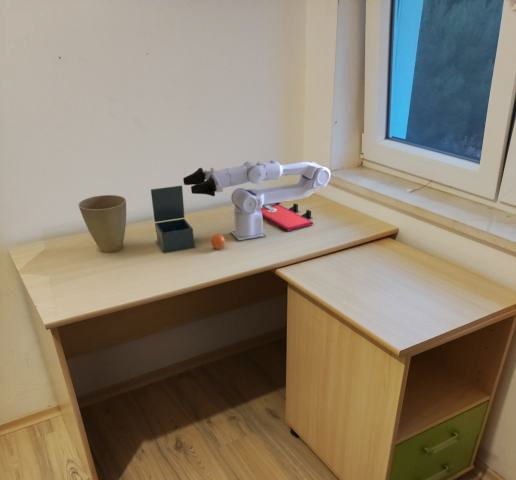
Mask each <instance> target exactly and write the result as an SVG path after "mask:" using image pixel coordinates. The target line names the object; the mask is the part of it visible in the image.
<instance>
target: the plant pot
mask: <svg viewBox="0 0 516 480" xmlns="http://www.w3.org/2000/svg"><path fill="white" fill-rule="evenodd" d="M77 205H78V209H79V212H80V214H81V217H82V219H83V221H84V224H85V225H86V228H87V230H88V233H89V234H90V236H91V238H92V239H93V241H94V242H95V243H96V244H95V245H96V246H97V247H98V249H99V250H100V251H101V252H103V253H115V252H118V251H120V250H122V248H123V245H124V240H125V234H126V225H127V199H126V198H125V197H124V196H121V195H116V194H104V195H95V196H90V197H88V198H87V197H86V198H84V199H82V200H80V201H79V203H78V204H77Z"/></svg>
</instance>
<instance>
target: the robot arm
mask: <svg viewBox="0 0 516 480" xmlns="http://www.w3.org/2000/svg"><path fill="white" fill-rule="evenodd" d="M282 176H300V177H299V179H298V180H299V181H298V183H295V184H294V183H293V184H288V185H282V186H275V187H270V188H262V189H255V188H254V189H253V188H247V189H246V188H243V187H238V188H235V189H234V190H233V192H232V193H231V196H230V197H231V198H230V200H231V202H232V204H233V205H234V209H233V211H234V230H233V231H231V234H232V235H233V236H234V237H235V238H236V239H237V240H238V241H244V240H250V239H255V238H261V237H264V236H265V235H264V219H263V218H264V217H262V213H261V211H260V209H262V205H267V204H272V203H278V202H279V203H283V202H289V201H290V202H291V201H296V200H301V199H307V198H309V197H311V195H313V194H315V193H316V192H317V191H318V190H320V189H324V188H325V187H326V186H327V185H328V183H329V181H330V180H331V171H330V169H329V168H327V167H326V166H322V165H320V164H317V162H315V161H301V162H294V163H285V164H280V162H278V161H276V160H274V159H271V160H270V161H269V162H261V161H257V162H256V163H254V162H253V161H252V162H251V161H245V162H244V163H243V164H242V165H240V166H232V167H227V168H222V169H217V170H215V168H214V167H210V170H207V169H203V168H202V167H199V168H198V169H197V170H195V171H194V172H193V173H191V174H189V175H187V176H184V177H183V178H182V179H183V180H182V181H183V185H184V186H190V191H191V194H193V195H207V196H211V197H215V196H216V193H221V192H223V191H224V190H223V189H225V188H229V187H235V186H239V185H243V184H247V183H252V184H256V185H259V184H261V182H263V181H275V180H279V179H280V178H281V177H282Z"/></svg>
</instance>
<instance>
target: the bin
mask: <svg viewBox="0 0 516 480" xmlns="http://www.w3.org/2000/svg"><path fill="white" fill-rule="evenodd" d="M154 226H155V227H154V228H155V234H156V242H157V244H158V245H159V246H160V248H161V250H162V251H163V253H164V254H165V253H170V252H176V251H181V250H187V249H193V248H195V239H194V229H193V227H192V225H190V224H189V223H188V221H187V220H186V218H179V219H172V220H166V221H159V222H154Z"/></svg>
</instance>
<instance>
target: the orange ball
mask: <svg viewBox="0 0 516 480" xmlns="http://www.w3.org/2000/svg"><path fill="white" fill-rule="evenodd" d="M210 244H211V246H212V247H213V248H214V249H217V250H220V249H223V247H225V245H226V239H225V237H224V236H223V235H222V234H219V233H216V234H214V235H213V236H211V239H210Z"/></svg>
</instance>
